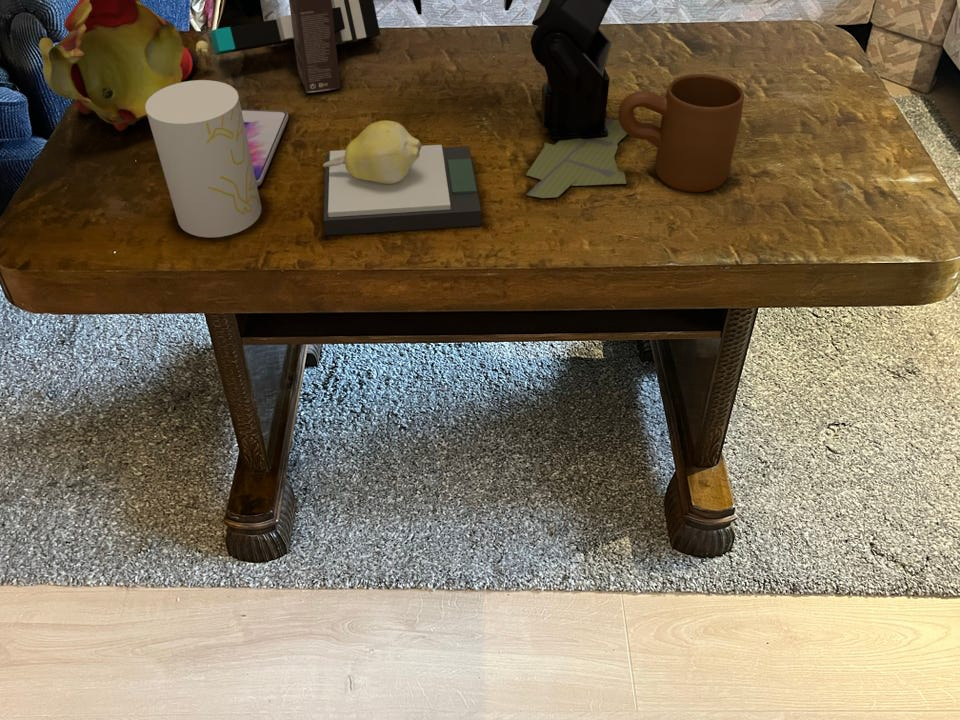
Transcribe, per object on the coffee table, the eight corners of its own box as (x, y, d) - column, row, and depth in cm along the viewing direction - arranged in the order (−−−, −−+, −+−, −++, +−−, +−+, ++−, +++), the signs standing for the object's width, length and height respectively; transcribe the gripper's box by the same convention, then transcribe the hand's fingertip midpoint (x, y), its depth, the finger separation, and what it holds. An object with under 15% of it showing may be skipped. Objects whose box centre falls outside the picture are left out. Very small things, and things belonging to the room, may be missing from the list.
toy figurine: (151, 85, 110) (141, 85, 103) (143, 47, 109) (132, 45, 102) (216, 78, 112) (211, 78, 104) (210, 41, 110) (204, 38, 103)
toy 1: (222, 66, 103) (133, 14, 105) (175, -14, 89) (73, -72, 91) (146, 168, 101) (56, 113, 103) (85, 103, 86) (-18, 41, 88)
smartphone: (289, 110, 101) (259, 182, 90) (290, 117, 102) (260, 189, 91) (226, 108, 101) (189, 179, 90) (227, 115, 102) (190, 186, 91)
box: (343, 88, 106) (331, -13, 98) (305, 94, 105) (290, -8, 97) (333, 67, 110) (321, -33, 102) (297, 72, 109) (281, -28, 101)
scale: (469, 160, 95) (469, 140, 93) (481, 225, 86) (481, 204, 84) (327, 169, 94) (325, 149, 92) (325, 235, 85) (322, 214, 83)
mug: (613, 193, 90) (623, 108, 84) (609, 154, 96) (618, 71, 89) (733, 195, 90) (752, 110, 83) (721, 156, 95) (739, 73, 89)
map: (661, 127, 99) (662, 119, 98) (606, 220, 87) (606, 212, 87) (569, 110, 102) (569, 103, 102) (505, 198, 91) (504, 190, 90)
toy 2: (205, 25, 111) (356, 1, 117) (215, 66, 113) (365, 40, 119) (213, 15, 102) (377, -11, 108) (225, 60, 104) (385, 32, 110)
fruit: (328, 159, 91) (425, 143, 90) (329, 205, 88) (428, 189, 87) (312, 118, 86) (414, 101, 85) (312, 165, 83) (417, 148, 82)
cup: (242, 241, 84) (216, 127, 76) (163, 232, 86) (128, 118, 77) (273, 195, 90) (252, 84, 82) (199, 186, 91) (170, 76, 83)
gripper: (545, -180, 89) (538, -22, 100) (359, -174, 88) (373, -15, 99) (564, -150, 81) (555, 19, 92) (360, -143, 80) (375, 27, 91)
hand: (463, 11), depth 94 cm, fingers open, 9 cm apart
